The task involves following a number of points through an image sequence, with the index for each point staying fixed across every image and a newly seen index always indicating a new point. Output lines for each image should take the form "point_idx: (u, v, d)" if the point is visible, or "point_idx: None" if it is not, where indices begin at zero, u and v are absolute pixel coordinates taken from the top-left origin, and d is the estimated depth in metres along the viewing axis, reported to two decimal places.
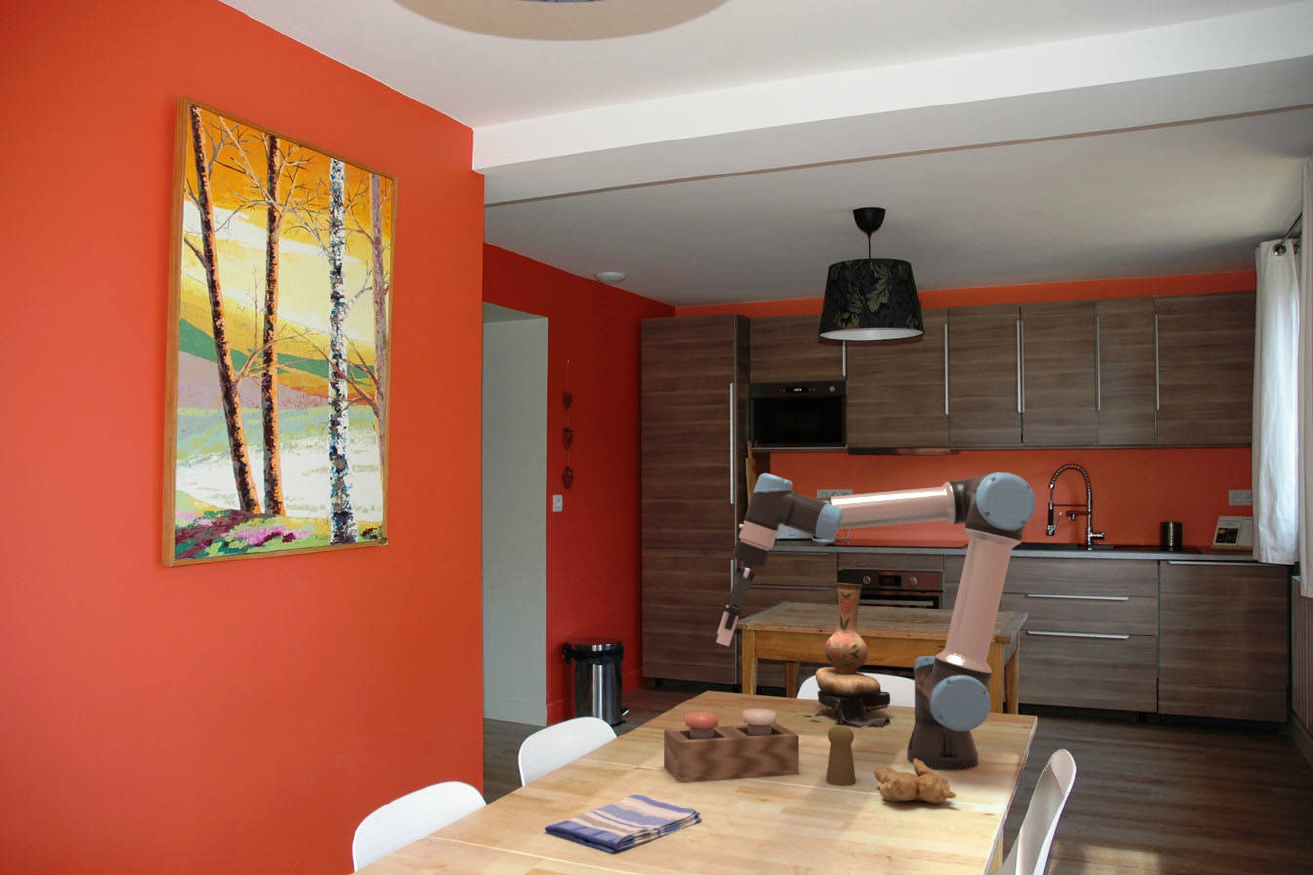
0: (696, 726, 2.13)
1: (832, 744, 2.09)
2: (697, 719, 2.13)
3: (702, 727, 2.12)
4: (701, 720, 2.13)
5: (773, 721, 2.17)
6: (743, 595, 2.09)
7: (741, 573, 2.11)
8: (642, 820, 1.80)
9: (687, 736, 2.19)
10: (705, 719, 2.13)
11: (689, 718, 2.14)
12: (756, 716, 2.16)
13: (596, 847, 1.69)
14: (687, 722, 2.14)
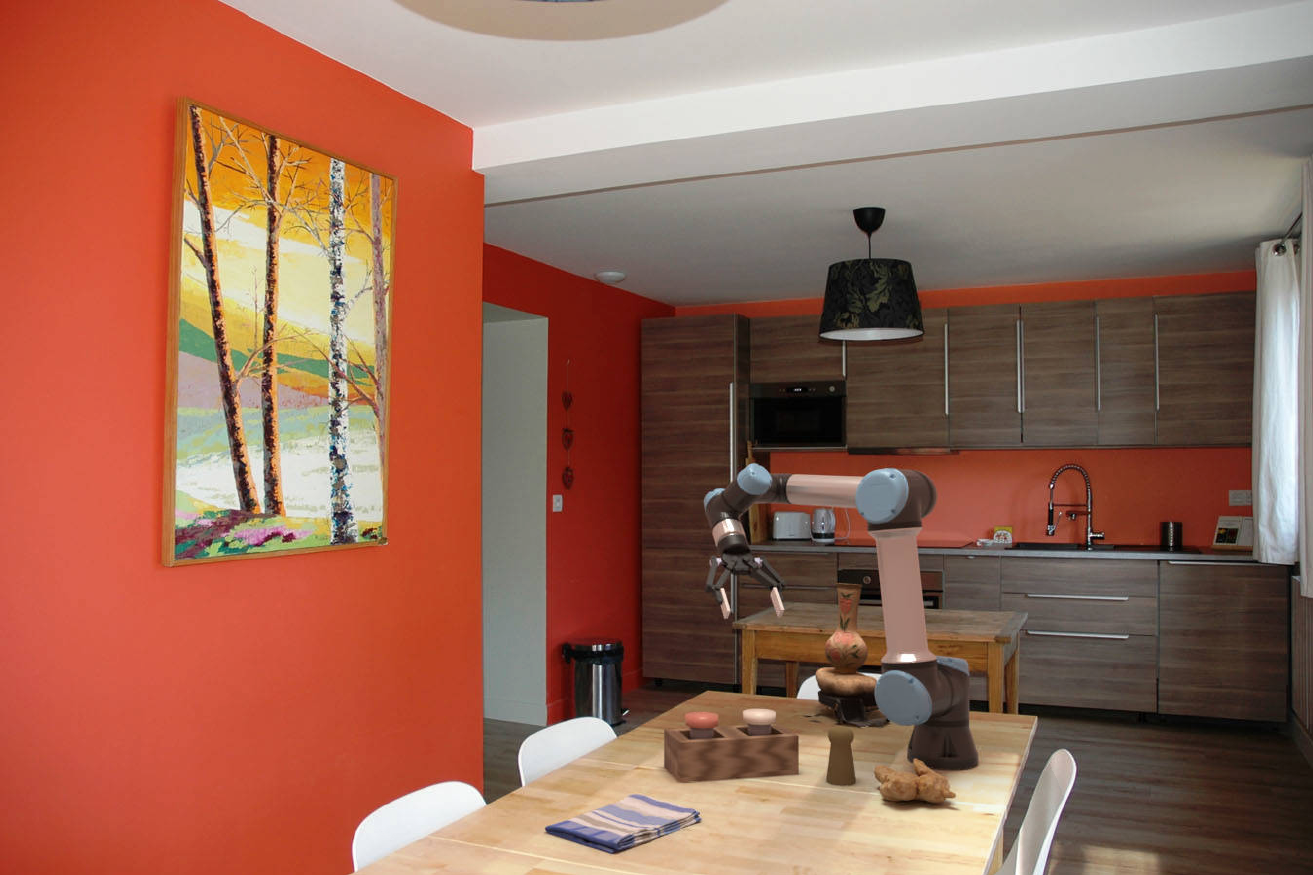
0: (696, 726, 2.13)
1: (832, 744, 2.09)
2: (697, 719, 2.13)
3: (702, 727, 2.12)
4: (701, 720, 2.13)
5: (773, 721, 2.17)
6: (709, 574, 2.36)
7: (709, 565, 2.40)
8: (642, 820, 1.80)
9: (687, 736, 2.19)
10: (705, 719, 2.13)
11: (689, 718, 2.14)
12: (756, 716, 2.16)
13: (596, 847, 1.69)
14: (687, 722, 2.14)
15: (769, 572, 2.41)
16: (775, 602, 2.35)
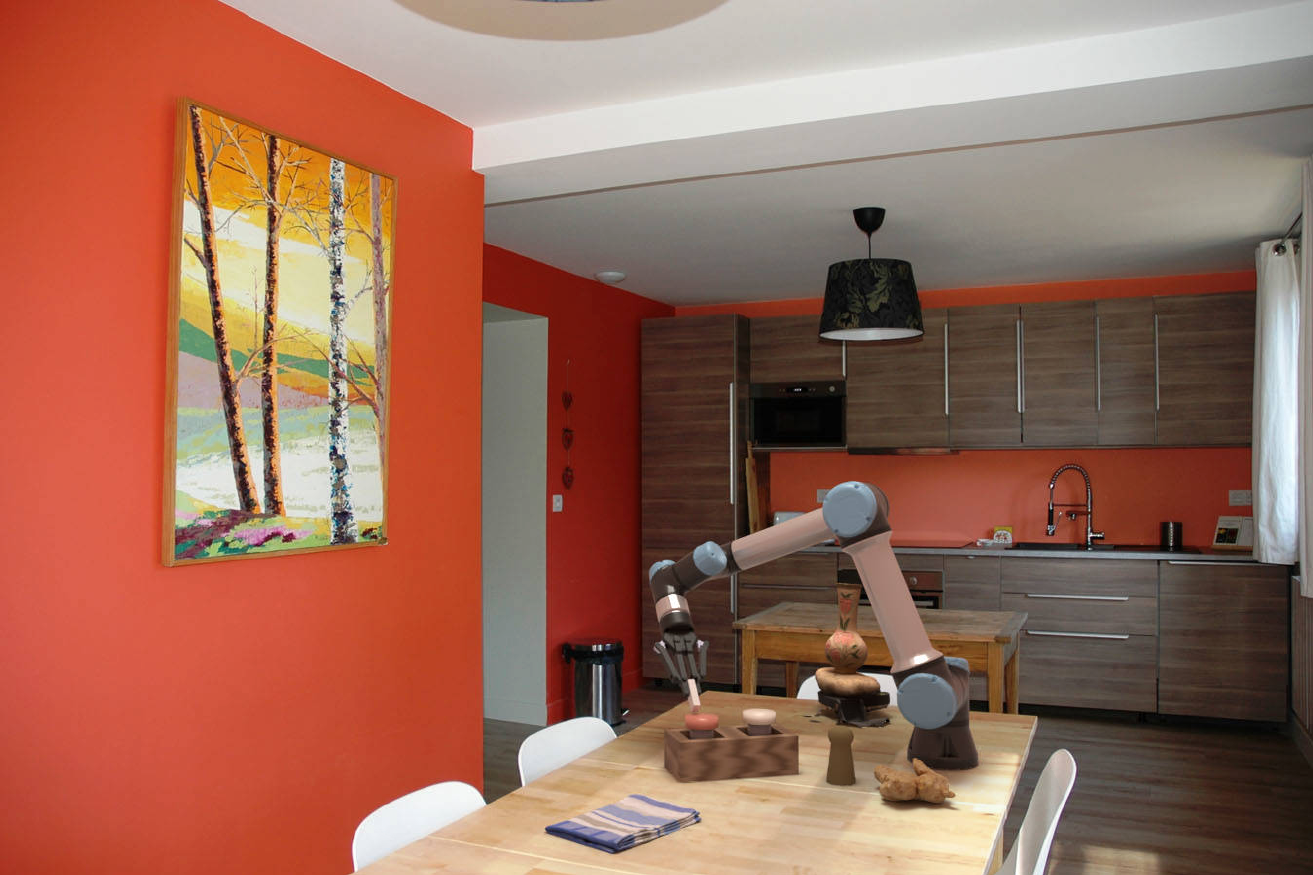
0: (696, 728, 2.13)
1: (832, 744, 2.09)
2: (697, 721, 2.13)
3: (702, 729, 2.12)
4: (701, 722, 2.13)
5: (773, 721, 2.17)
6: (667, 664, 2.25)
7: (656, 653, 2.28)
8: (642, 820, 1.80)
9: (687, 736, 2.19)
10: (705, 721, 2.13)
11: (689, 719, 2.14)
12: (756, 716, 2.16)
13: (596, 847, 1.69)
14: (687, 723, 2.14)
15: (700, 658, 2.28)
16: None
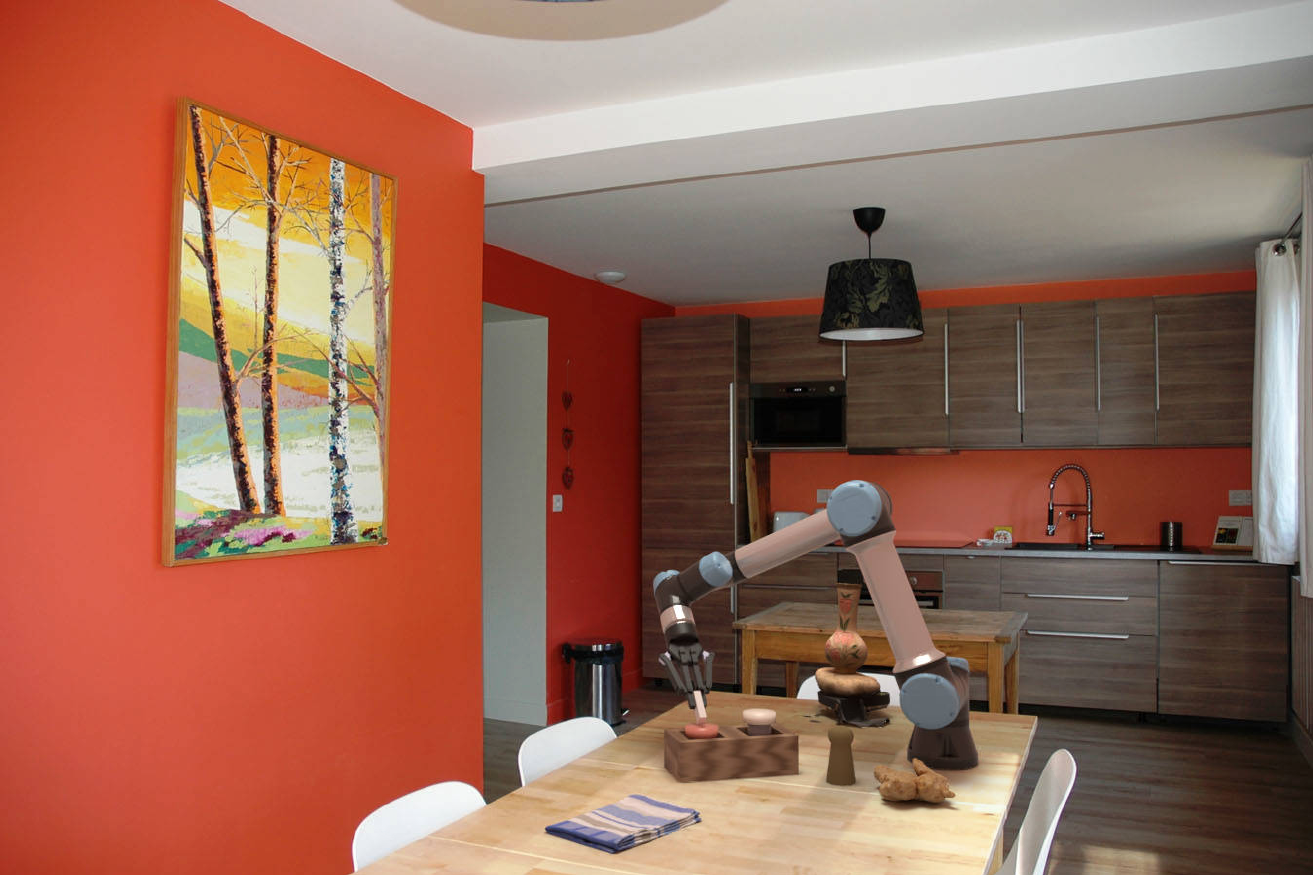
0: (696, 738, 2.13)
1: (832, 744, 2.09)
2: (697, 731, 2.13)
3: None
4: (701, 732, 2.12)
5: (773, 721, 2.17)
6: (672, 676, 2.22)
7: (661, 665, 2.26)
8: (642, 820, 1.80)
9: None
10: (705, 731, 2.13)
11: (689, 730, 2.14)
12: (756, 716, 2.16)
13: (596, 847, 1.69)
14: (687, 734, 2.14)
15: (706, 669, 2.25)
16: None
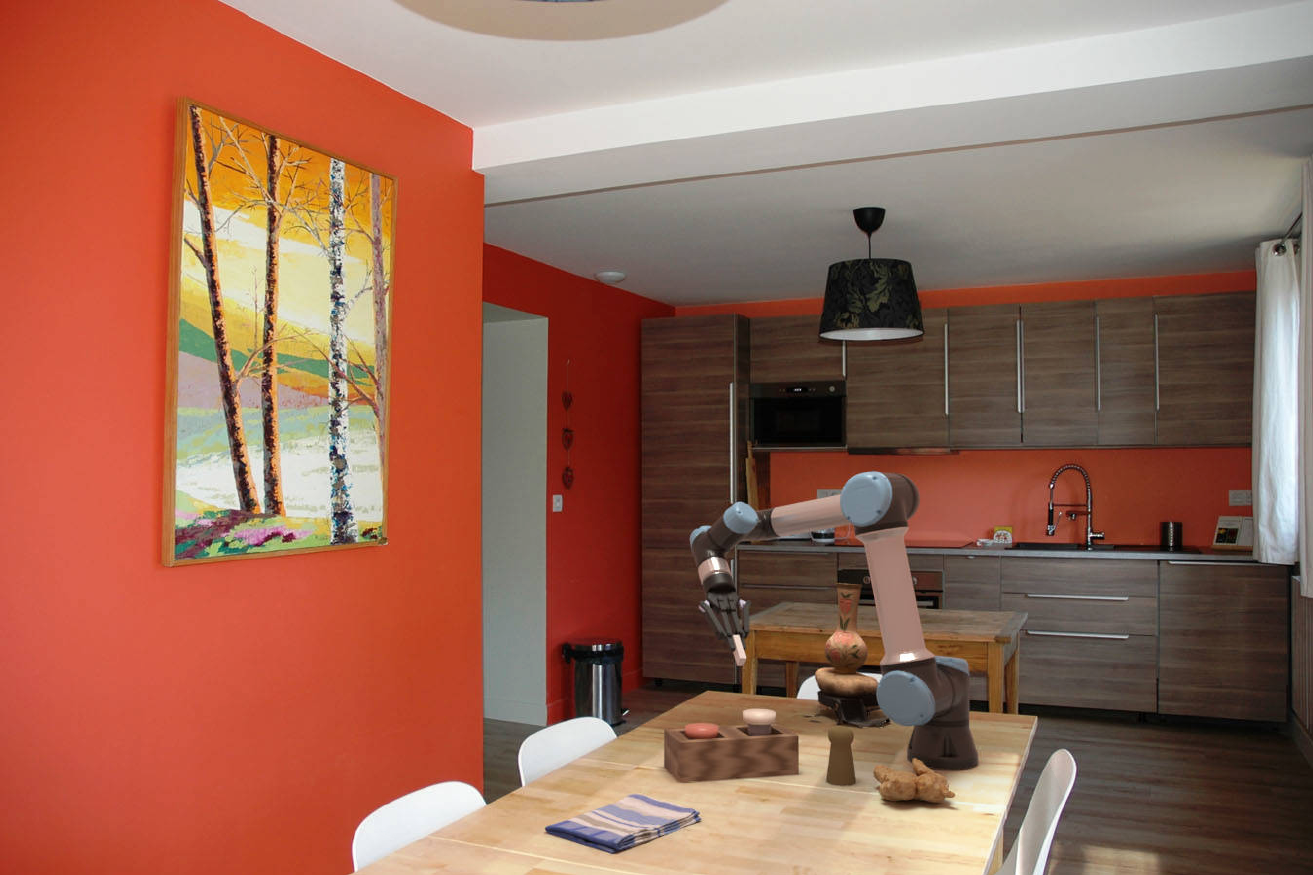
0: (696, 738, 2.13)
1: (832, 744, 2.09)
2: (697, 731, 2.13)
3: None
4: (701, 732, 2.12)
5: (773, 721, 2.17)
6: (712, 621, 2.36)
7: (701, 612, 2.39)
8: (642, 820, 1.80)
9: None
10: (705, 731, 2.13)
11: (689, 730, 2.14)
12: (756, 716, 2.16)
13: (596, 847, 1.69)
14: (687, 734, 2.14)
15: (743, 616, 2.39)
16: None
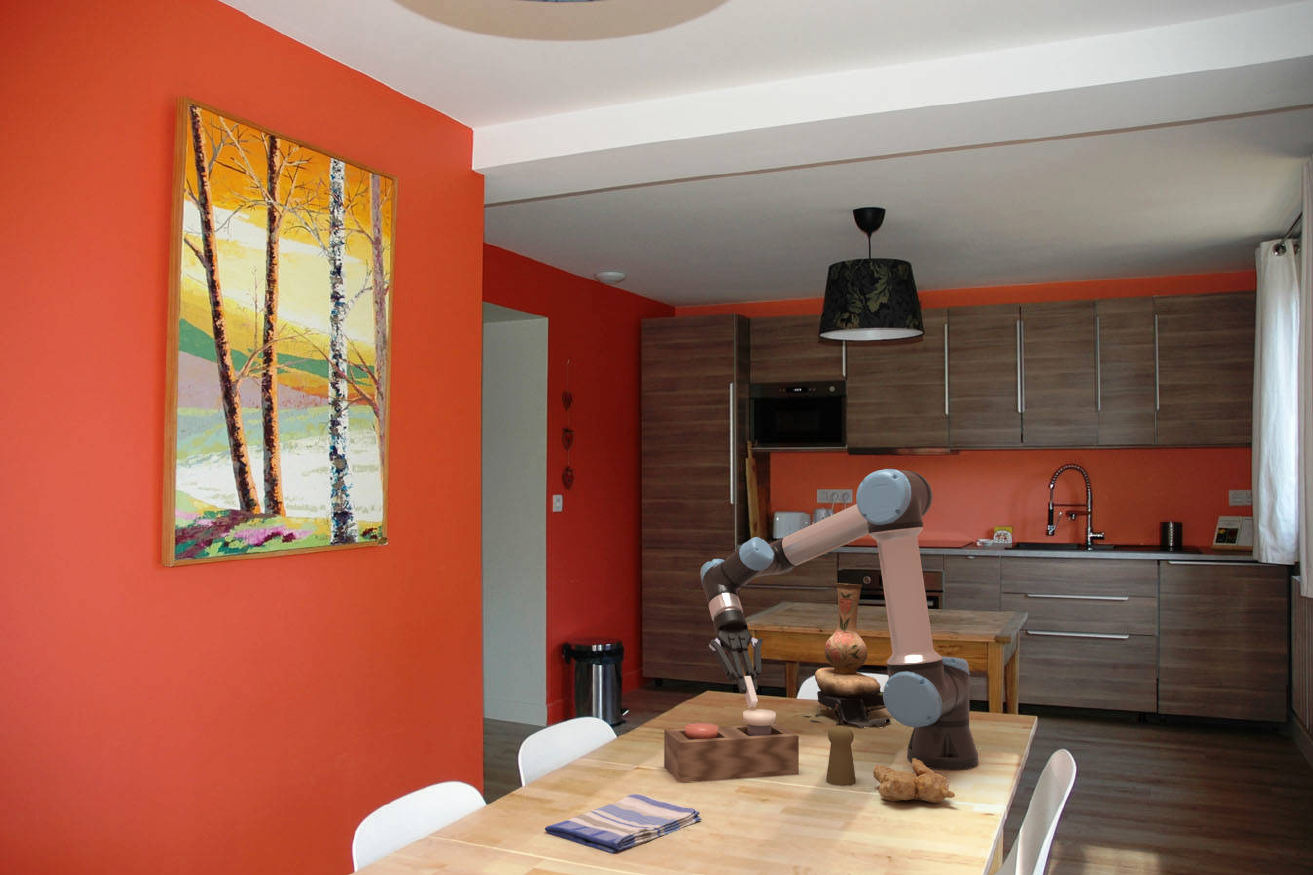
0: (696, 738, 2.13)
1: (832, 744, 2.09)
2: (697, 731, 2.13)
3: None
4: (701, 732, 2.12)
5: (773, 722, 2.17)
6: (723, 661, 2.28)
7: (712, 651, 2.32)
8: (642, 820, 1.81)
9: None
10: (705, 731, 2.13)
11: (689, 730, 2.14)
12: (756, 717, 2.16)
13: (596, 847, 1.69)
14: (687, 734, 2.14)
15: (755, 655, 2.31)
16: None
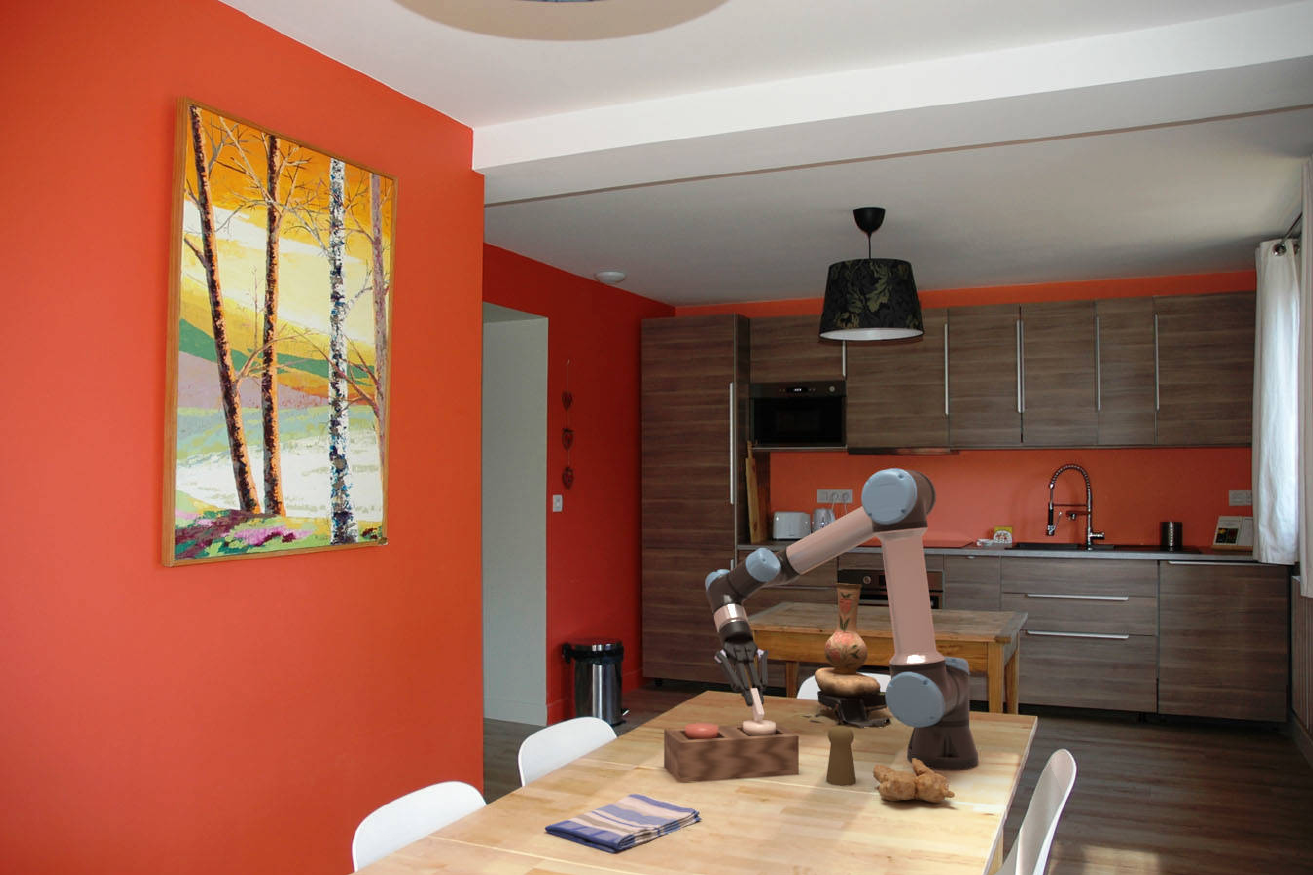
0: (696, 738, 2.13)
1: (832, 744, 2.09)
2: (697, 731, 2.13)
3: None
4: (701, 732, 2.12)
5: (773, 732, 2.17)
6: (729, 673, 2.25)
7: (717, 663, 2.29)
8: (642, 820, 1.81)
9: None
10: (705, 731, 2.13)
11: (689, 730, 2.14)
12: (756, 727, 2.16)
13: (597, 847, 1.69)
14: (687, 734, 2.14)
15: (761, 667, 2.29)
16: None
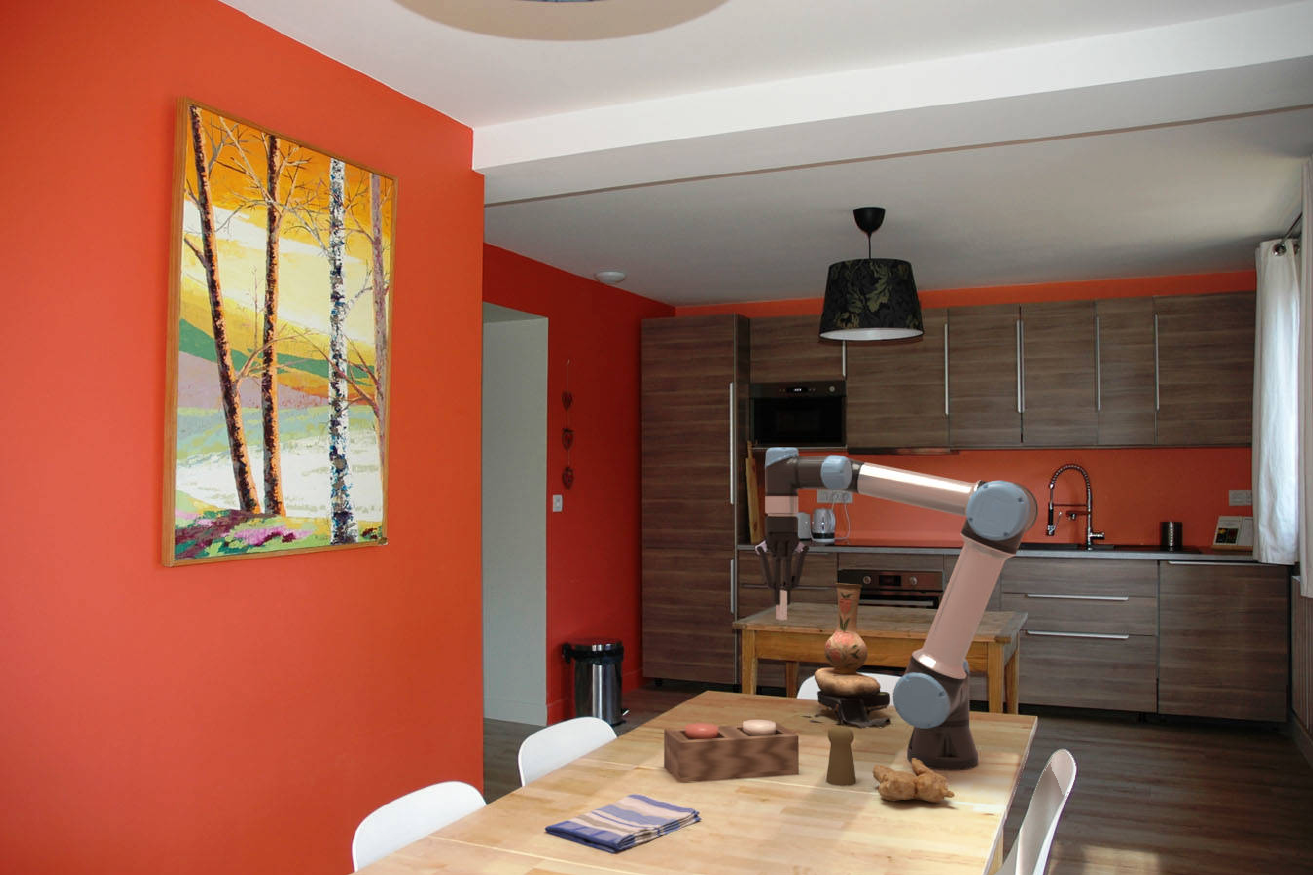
0: (696, 738, 2.13)
1: (832, 744, 2.09)
2: (697, 731, 2.13)
3: None
4: (701, 732, 2.12)
5: (773, 732, 2.17)
6: (764, 571, 2.31)
7: (756, 552, 2.32)
8: (642, 820, 1.81)
9: None
10: (705, 731, 2.13)
11: (689, 730, 2.14)
12: (756, 727, 2.16)
13: (597, 847, 1.69)
14: (687, 734, 2.14)
15: (797, 564, 2.33)
16: None
